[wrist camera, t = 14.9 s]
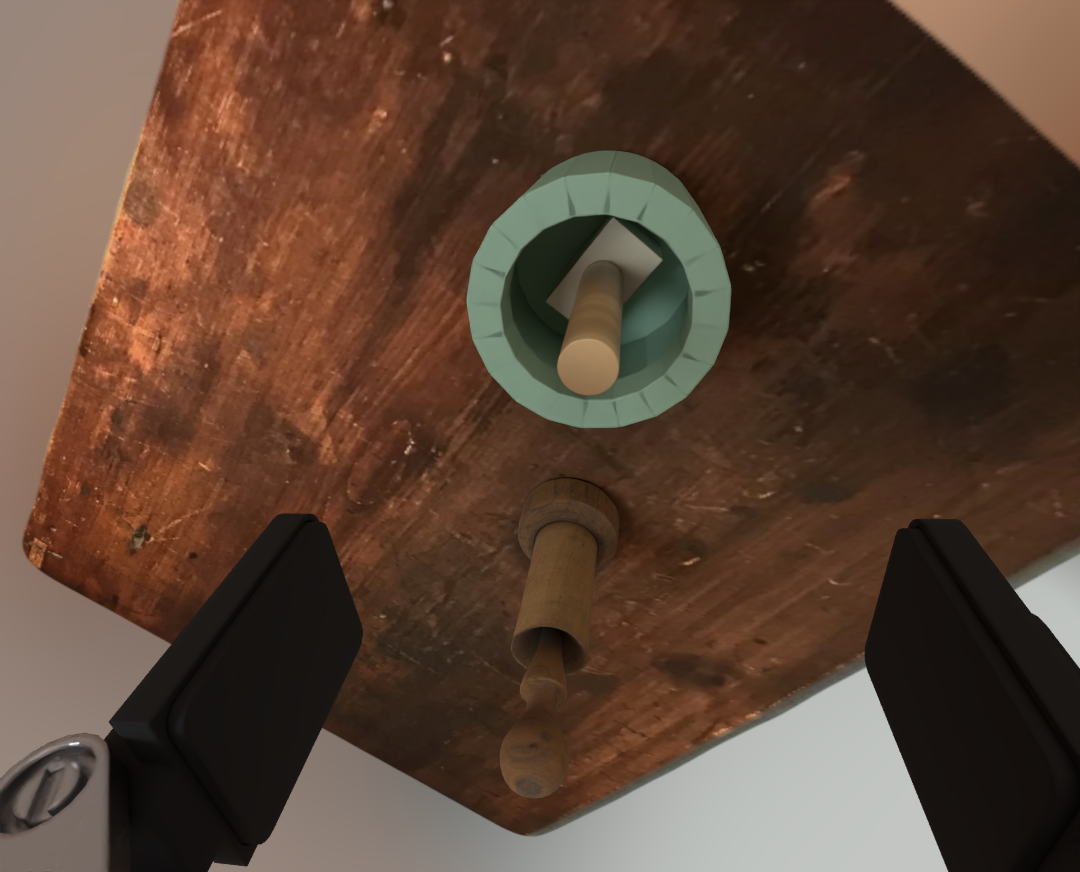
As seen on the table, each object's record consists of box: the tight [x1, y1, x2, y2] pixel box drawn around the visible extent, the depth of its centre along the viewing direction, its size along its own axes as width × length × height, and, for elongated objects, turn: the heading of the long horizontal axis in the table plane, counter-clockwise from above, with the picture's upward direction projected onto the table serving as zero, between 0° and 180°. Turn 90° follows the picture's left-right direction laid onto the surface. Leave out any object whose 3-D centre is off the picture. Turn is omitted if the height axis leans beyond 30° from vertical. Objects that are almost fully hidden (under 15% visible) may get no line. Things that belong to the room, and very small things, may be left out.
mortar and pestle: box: [500, 478, 619, 798], centre depth 32 cm, size 7×6×18 cm
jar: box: [466, 151, 731, 428], centre depth 27 cm, size 10×10×9 cm
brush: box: [545, 215, 663, 395], centre depth 25 cm, size 5×3×13 cm, turn 143°
